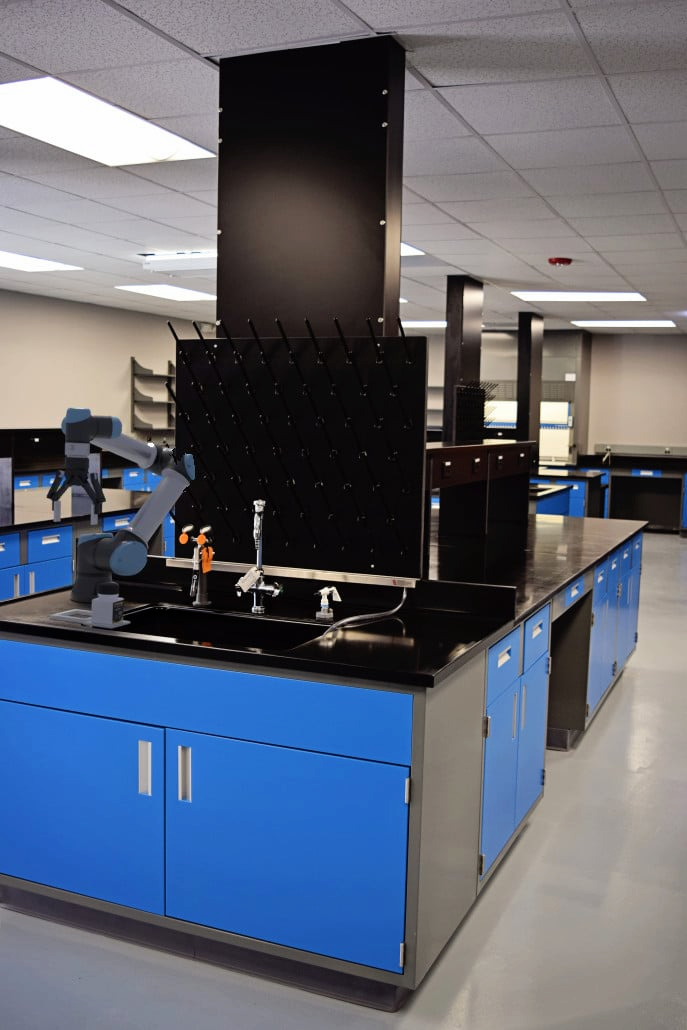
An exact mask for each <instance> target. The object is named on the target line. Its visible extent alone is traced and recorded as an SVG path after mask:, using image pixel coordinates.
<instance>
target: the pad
mask: <svg viewBox="0 0 687 1030" xmlns="http://www.w3.org/2000/svg"><path fill="white" fill-rule="evenodd" d="M82 624H83V625H84V626H85V625H86V626H89V627H90V626H92V627H98V628H105V629H114V628H115V629H116V628H118V627H122V626H126V625H130V624H131V621H130V620H124V619H123V621H121V622H119V623H116V624H113V625H110V624H100V623H92V622H91V621H87V622H83V623H82Z"/></svg>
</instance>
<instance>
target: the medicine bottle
mask: <svg viewBox="0 0 687 1030" xmlns="http://www.w3.org/2000/svg"><path fill="white" fill-rule="evenodd" d="M119 595H120V585H119V583H117V582H115V581H114V582H113V581H112V582H102V583H100V584H99V585H98V596H99V598H95V599H93V600H92V603H91V611H92V613H91V616H90V617H91V622H92V623H100V624H110V625H113V624H116V623H119V622H121V621H123V620H124V603H125V602H124V600H125V598H123V597H119Z"/></svg>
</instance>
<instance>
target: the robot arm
mask: <svg viewBox="0 0 687 1030" xmlns="http://www.w3.org/2000/svg"><path fill="white" fill-rule="evenodd" d="M60 426H61V431H62V433H63V434H64V435H65V440H64V441H65V442H64V443H65V444H64V455H65V457H64V469H65V470H56V472H55V477H54V479H53V482H52V483H51V486H50V488H49V490H48V492H47V494H46V499H49V500H51V511H52V512H53V522H55V523H56V522H61V519H62V518H61V514H62V513H61V509H62V501H61V500H60V499H61V498H62V496H63V495H64V494H65V492H67V490H68V489H69V488H70V487H72V486H75V487H81V488H82V489H83V490H84V491H85V493H86V495H88V497H89V499H91V501H92V503H91V505H90V506H91V507H90V525H91V526H95V525H98V518H99V517H98V515H100V513H101V504H103V503H106V502H107V499H106V496H105V494H104V491H103V489H102V486H101V483H100V481H99V475H98V473H97V472H91V473H89V469H90V458H89V457H90V452H91V451H90V449H91V448H90V447H91V444H92V445H94V446H96V447H98V448H101V449H103V450H106V451H109V452H110V453H113V454H115V455H117V456H120V457H122V458H124V459H127V460H129V461H131V462H134V463H136V464H137V465H138V467H140V468H141V469H143V470H145V471H148V472H149V473H151V474H154V475H157V476H159V477H161V479H160V481H159V482H158V484H157V485H156V486H155V488H154V489H153V491H152V492H151V493H150V495H149V496H148V497H147V499H146V500H145V501H144V503H143V504H142V506H141V507H140V508H139V509H138V511H137V513H136V514H135V515H134V516H133V518H132V519H131V521H130V522H129V524H128V525H127V527H125V528H120V529H118V531H117V533H116V534H115V535H114V534H113V532H112V533H111V532H108V533H107V532H106V533H103V532H102V533H85V534H84V533H83V534H80V535H79V536H78V539H77V540H78V541H77V545H76V547H77V556H76V559H77V561H76V578H75V581H74V584H73V586H72V588H71V592H70V600H72V601H74V602H79V603H80V602H81V603H90V604H92V600H93V599H95V598H99V596H98V585H99V584H100V583H102V582H113V579H112V574H116V575H119V576H134V575H136V574H138V573H140V572H141V571H142V570H143V568H144V567H145V566H146V565H147V564H146V563H147V562H148V558H147V557H148V550H149V545H148V542H149V540H150V539H151V537H152V536H153V535H154V534H155V532H156V531H157V529H158V528H159V526H160V525H161V524H162V522H163V521H164V520H165V518H166V517H167V516H168V513H170V511H171V509H172V508H173V506H175V504H176V502H177V500H178V499H179V498H180V496H181V495H182V494H183V493H184V492H183V490H184V489H185V488H186V487H188V486H189V485H190V481H191V480H194V479H195V465H194V459H193V455H192V454H186V453H185V455H183V457H182V458H181V461H178V460H177V465H176V463H175V462H174V458H173V456H172V454H173V451H172V450H173V449H174V448H175V447H172V446H162V445H156V444H154V443H152V442H148V443H145V442H143V441H140V440H138V439H136V438H133V437H132V436H129V435H127V434H125V433H122V432H123V424H122V421H121V419H120V418H119V417H117V416H112V415H93V414H92V412H91V409H90V408H86V407H85V408H82V407H69V408H67V409H66V415H65V416H64V417H63V419H62V421H61V424H60ZM168 447H169V448H168ZM169 454H170V455H171V456H170V455H169ZM64 478H65V479H64ZM88 479H89V480H90V481H89V480H88ZM63 480H64V481H63ZM62 481H63V482H62ZM61 483H62V484H61ZM60 485H61V486H60Z"/></svg>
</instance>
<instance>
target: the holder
mask: <svg viewBox="0 0 687 1030" xmlns="http://www.w3.org/2000/svg"><path fill="white" fill-rule="evenodd" d="M91 613H92V610H85V609H77V608H73V609H70V610H65V611H62V612H56V613H53V614H50V615H49V619H50V620H56V621H63V622H64V621H65V622H69V623H70V622H71V623H79V624H83V622H87V621H91ZM73 615H81V616H82V615H83V616H89V617H86V618H83V617H76V616H73Z"/></svg>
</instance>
